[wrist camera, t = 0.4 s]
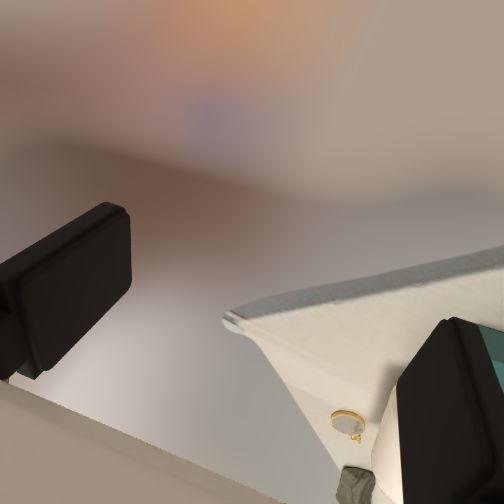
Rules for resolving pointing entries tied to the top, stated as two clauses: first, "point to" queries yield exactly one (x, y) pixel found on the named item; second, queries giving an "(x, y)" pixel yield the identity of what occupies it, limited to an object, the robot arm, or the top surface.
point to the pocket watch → (348, 424)
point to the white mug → (388, 453)
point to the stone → (355, 486)
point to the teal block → (495, 350)
